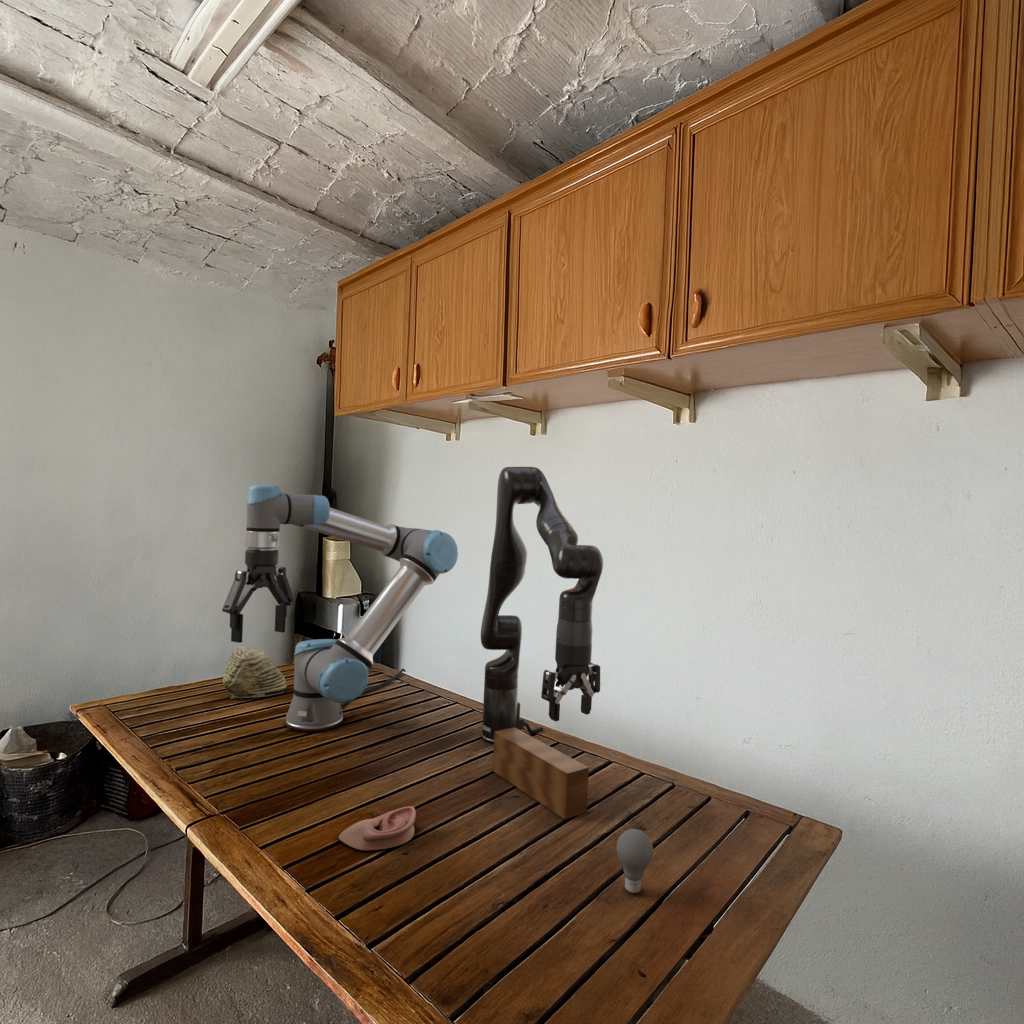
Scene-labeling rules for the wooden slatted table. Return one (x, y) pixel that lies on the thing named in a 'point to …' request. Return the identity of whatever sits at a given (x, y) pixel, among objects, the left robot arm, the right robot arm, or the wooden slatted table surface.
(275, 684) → the fossil
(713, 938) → the wooden slatted table surface
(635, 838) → the light bulb
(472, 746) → the wooden slatted table surface
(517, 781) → the bar
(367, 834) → the anatomical model
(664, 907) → the wooden slatted table surface
